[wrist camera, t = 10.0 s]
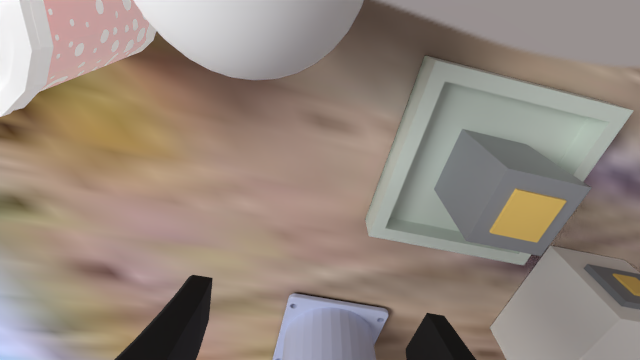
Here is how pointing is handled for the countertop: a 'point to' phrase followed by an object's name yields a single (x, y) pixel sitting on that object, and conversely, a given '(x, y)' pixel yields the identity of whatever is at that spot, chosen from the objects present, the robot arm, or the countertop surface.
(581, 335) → the control box
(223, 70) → the lightbulb
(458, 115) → the parts tray
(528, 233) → the block
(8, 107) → the beverage cup
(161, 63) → the countertop surface
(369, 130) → the countertop surface
